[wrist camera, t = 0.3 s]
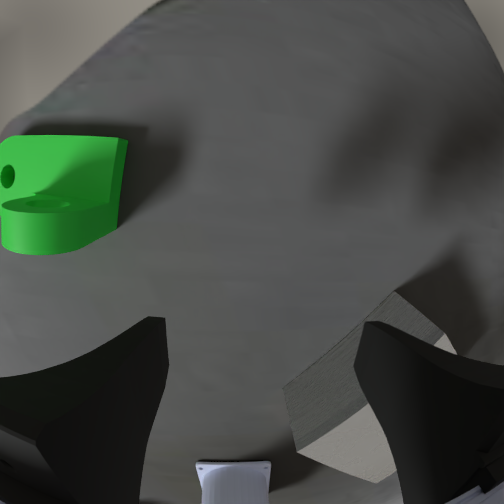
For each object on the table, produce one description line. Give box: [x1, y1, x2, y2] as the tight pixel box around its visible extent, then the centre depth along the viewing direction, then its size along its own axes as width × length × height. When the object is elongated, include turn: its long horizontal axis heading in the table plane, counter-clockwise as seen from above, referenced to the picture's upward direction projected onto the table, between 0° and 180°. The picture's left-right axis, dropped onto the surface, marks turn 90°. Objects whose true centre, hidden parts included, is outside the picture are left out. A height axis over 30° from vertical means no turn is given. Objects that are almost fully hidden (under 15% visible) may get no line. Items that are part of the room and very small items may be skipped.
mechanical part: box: [0, 135, 128, 255], centre depth 13 cm, size 12×6×8 cm, turn 79°
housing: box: [282, 291, 457, 483], centre depth 20 cm, size 12×12×7 cm
